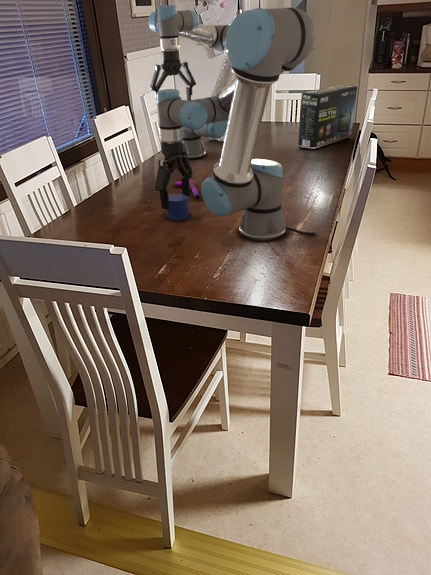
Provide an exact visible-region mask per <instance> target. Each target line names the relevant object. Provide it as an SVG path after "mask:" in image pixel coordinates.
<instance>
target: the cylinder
mask: <svg viewBox="0 0 431 575" xmlns="http://www.w3.org/2000/svg"><path fill="white" fill-rule="evenodd" d="M168 198H169V210H167V209H166V217H167V219H168V220H169V221H175V222H179V221H184V220H186V219H187V220H188V219H189V215H190V214H189V201H188V196H186V195H184V194H182V193H173V194H168Z"/></svg>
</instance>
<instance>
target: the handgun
mask: <svg viewBox="0 0 431 575" xmlns="http://www.w3.org/2000/svg"><path fill="white" fill-rule="evenodd" d="M174 187H176V188H178V187H182V181H174ZM189 187H190V192H192V193H193V196H194V199H195V200H196V201H198V200H200V194H199V192H198V189H197V188H196V186H195V183H194V181H193V180H192V179H191V180H190V179H189Z"/></svg>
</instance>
